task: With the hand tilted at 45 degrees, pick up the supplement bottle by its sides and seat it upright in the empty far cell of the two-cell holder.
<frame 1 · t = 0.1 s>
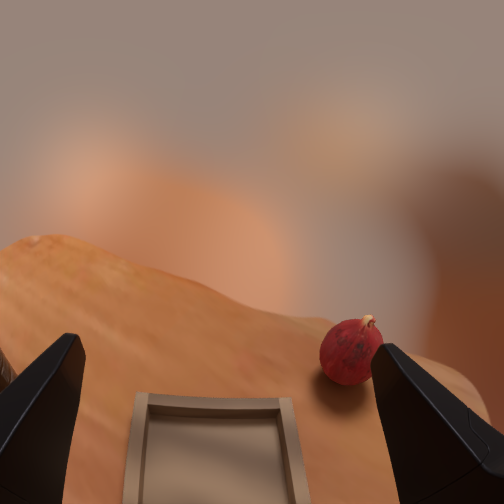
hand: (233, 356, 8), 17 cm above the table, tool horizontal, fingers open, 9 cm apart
supplement bottle: (4, 411, 17), on the table
onion: (338, 378, 28), on the table
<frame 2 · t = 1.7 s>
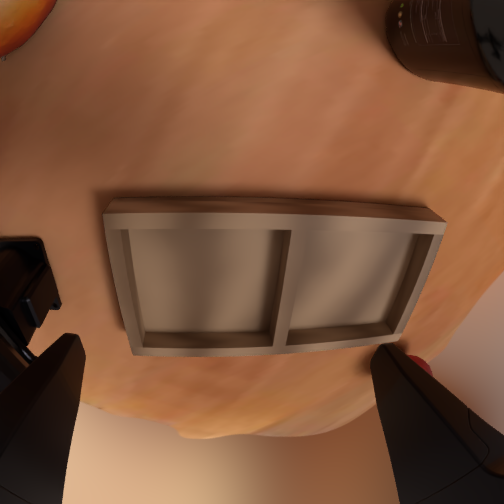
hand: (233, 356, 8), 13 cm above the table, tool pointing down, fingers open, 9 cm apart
supplement bottle: (421, 34, 15), on the table
holder: (281, 275, 23), on the table
fruit: (28, 7, 10), on the table
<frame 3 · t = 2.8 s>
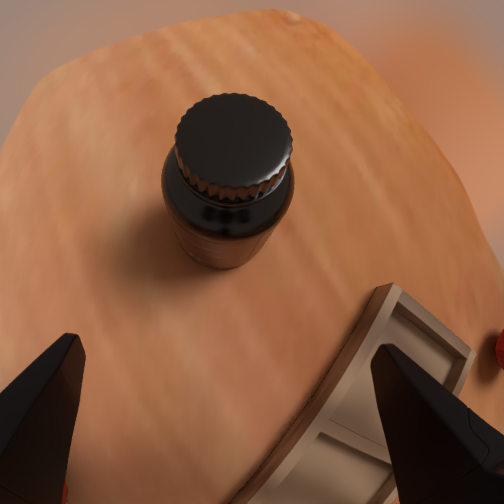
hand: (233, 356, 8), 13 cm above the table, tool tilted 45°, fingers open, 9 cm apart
supplement bottle: (220, 226, 23), on the table
onion: (494, 347, 25), on the table
holder: (358, 439, 21), on the table
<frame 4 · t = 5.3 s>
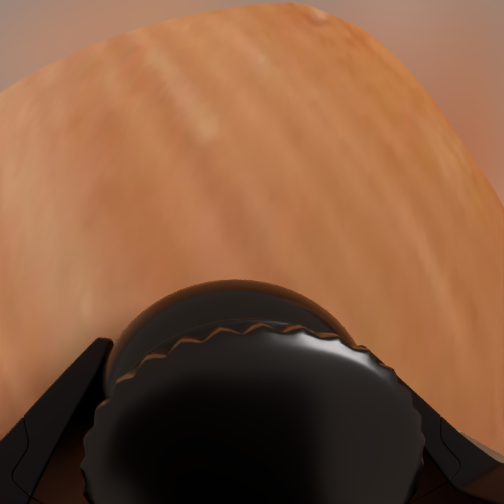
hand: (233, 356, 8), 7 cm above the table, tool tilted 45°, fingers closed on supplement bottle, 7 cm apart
supplement bottle: (221, 370, 15), on the table, touching gripper
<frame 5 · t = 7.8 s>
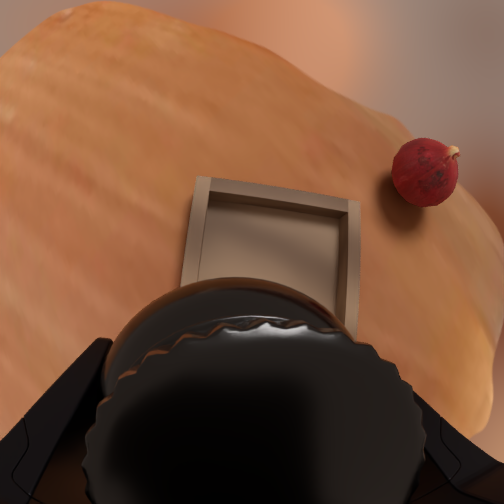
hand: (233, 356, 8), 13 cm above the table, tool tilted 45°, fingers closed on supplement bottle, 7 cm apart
supplement bottle: (219, 369, 15), point 6 cm above the table, touching gripper
onion: (400, 189, 26), on the table
holder: (262, 354, 21), on the table
when the fingers open (8 cm above the table, at t = 10.1 s): supplement bottle stays where it is, resting on holder.
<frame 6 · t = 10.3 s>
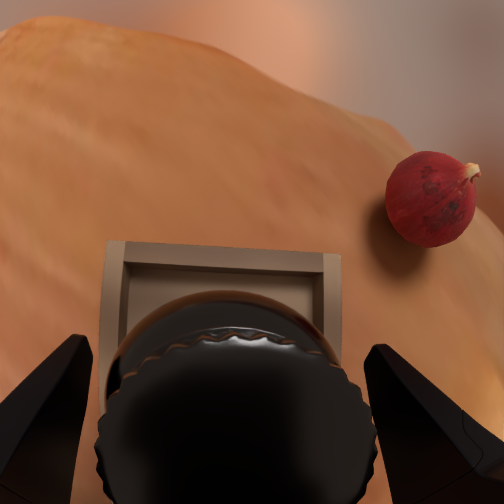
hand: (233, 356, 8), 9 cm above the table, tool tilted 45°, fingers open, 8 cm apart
supplement bottle: (217, 369, 16), point 1 cm above the table, touching holder
onion: (397, 219, 20), on the table
holder: (218, 453, 15), on the table
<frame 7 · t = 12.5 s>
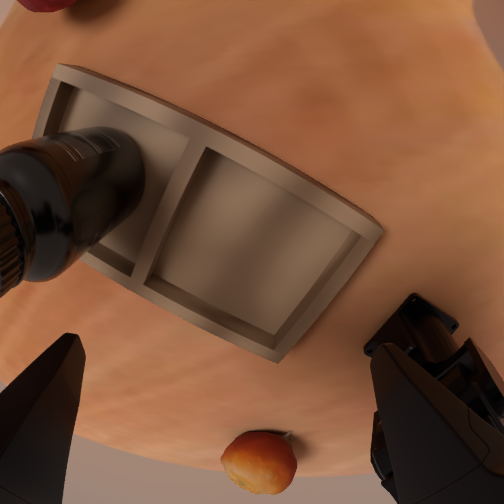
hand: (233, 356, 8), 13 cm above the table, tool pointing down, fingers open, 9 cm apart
supplement bottle: (105, 175, 19), point 1 cm above the table, touching holder
holder: (175, 206, 20), on the table
fruit: (261, 437, 31), on the table
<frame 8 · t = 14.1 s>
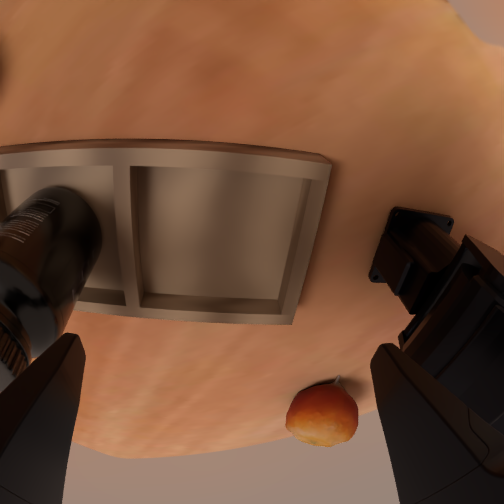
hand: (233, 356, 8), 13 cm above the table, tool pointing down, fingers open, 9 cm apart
supplement bottle: (64, 228, 19), point 1 cm above the table, touching holder
holder: (134, 226, 20), on the table
fruit: (315, 391, 33), on the table
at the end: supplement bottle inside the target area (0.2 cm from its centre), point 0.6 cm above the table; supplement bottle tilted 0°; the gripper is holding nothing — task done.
